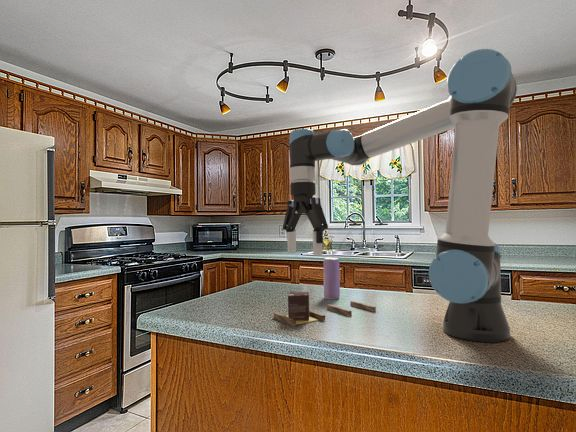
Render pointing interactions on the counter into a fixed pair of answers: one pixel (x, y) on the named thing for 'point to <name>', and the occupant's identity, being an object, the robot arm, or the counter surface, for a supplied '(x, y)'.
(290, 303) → the box
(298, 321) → the pad
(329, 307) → the notch rack
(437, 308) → the counter surface
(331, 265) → the beverage can
